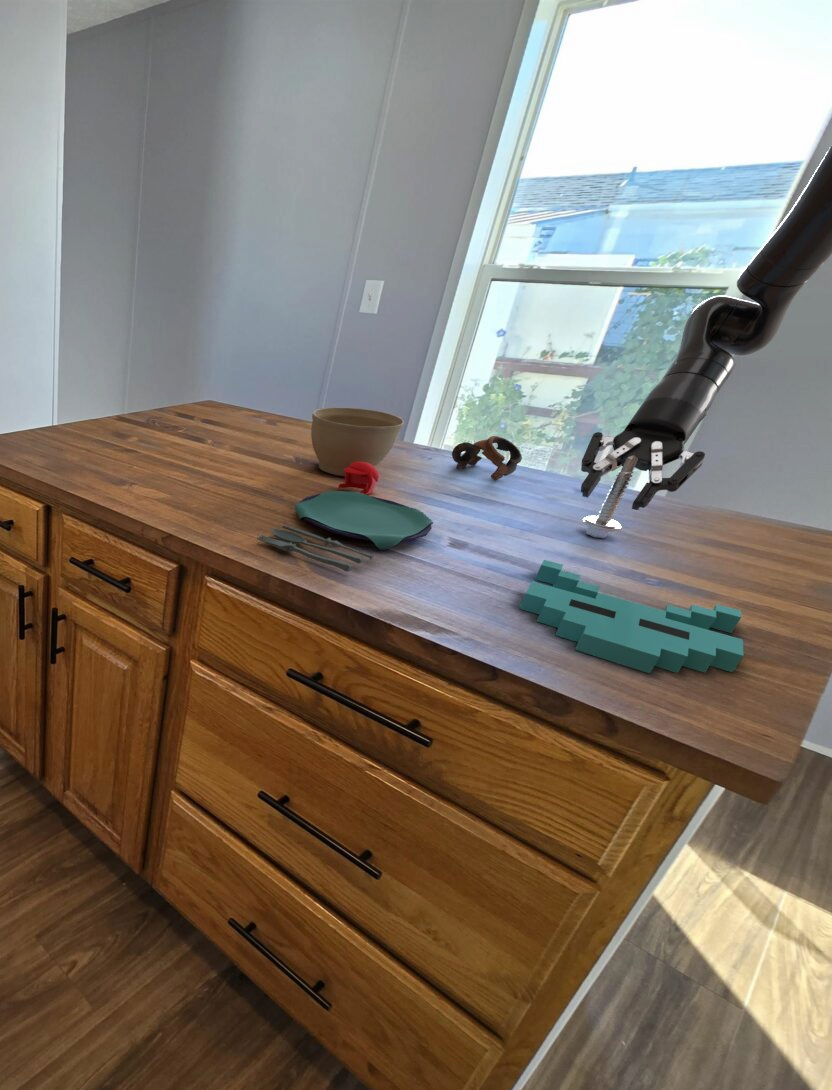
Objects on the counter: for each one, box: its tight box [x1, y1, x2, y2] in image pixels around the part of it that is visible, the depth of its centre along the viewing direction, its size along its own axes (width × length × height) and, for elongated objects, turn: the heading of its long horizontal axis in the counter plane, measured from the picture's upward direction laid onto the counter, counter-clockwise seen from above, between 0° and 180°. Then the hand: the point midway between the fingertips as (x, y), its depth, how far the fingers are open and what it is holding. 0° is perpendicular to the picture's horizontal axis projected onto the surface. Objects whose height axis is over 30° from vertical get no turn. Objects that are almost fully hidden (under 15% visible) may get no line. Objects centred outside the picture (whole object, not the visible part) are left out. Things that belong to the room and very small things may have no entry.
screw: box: [581, 456, 638, 539], centre depth 101 cm, size 13×5×5 cm
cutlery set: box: [256, 490, 434, 573], centre depth 103 cm, size 20×30×2 cm, turn 130°
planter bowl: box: [310, 406, 405, 477], centre depth 128 cm, size 16×16×11 cm
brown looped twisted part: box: [451, 435, 523, 481], centre depth 129 cm, size 12×10×8 cm
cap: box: [338, 461, 380, 496], centre depth 118 cm, size 8×6×6 cm
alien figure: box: [518, 559, 745, 674], centre depth 79 cm, size 20×2×20 cm
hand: (609, 500), depth 100 cm, fingers open, 5 cm apart
